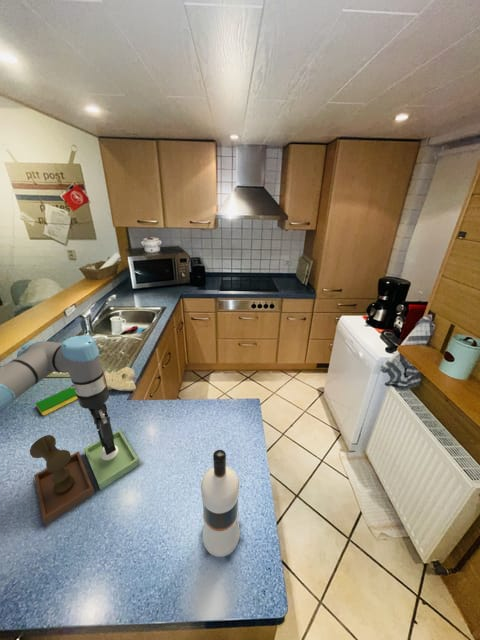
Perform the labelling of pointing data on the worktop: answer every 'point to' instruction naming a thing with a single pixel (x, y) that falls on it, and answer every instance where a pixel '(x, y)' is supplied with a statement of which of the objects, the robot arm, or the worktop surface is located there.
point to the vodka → (220, 507)
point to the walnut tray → (63, 502)
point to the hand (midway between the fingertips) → (108, 447)
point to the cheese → (121, 380)
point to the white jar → (109, 456)
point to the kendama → (54, 462)
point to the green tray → (111, 460)
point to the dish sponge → (56, 401)
